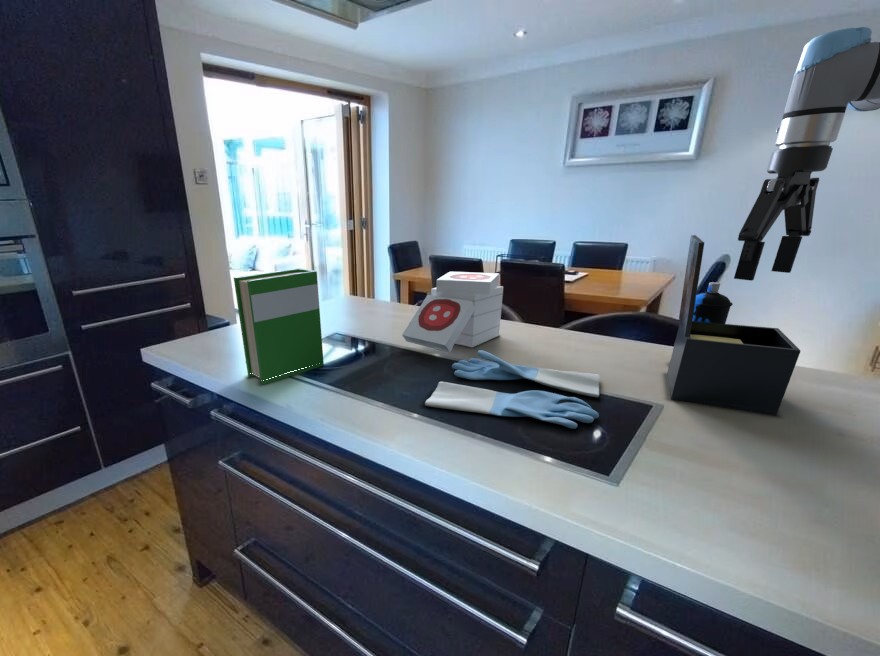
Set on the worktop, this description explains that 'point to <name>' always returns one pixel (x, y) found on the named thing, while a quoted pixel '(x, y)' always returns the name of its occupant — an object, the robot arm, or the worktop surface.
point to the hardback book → (280, 322)
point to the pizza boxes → (458, 312)
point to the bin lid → (691, 283)
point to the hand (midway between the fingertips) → (762, 275)
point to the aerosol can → (711, 306)
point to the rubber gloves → (521, 403)
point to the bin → (732, 367)
